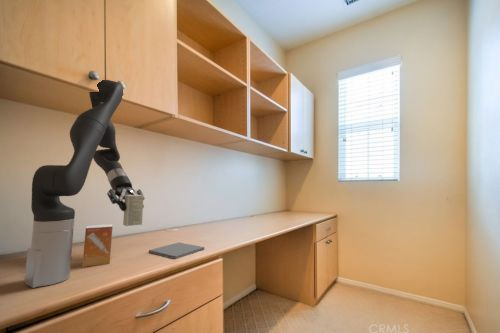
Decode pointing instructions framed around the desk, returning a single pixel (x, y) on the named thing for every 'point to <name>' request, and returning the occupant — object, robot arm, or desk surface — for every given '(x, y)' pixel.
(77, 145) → the robot arm
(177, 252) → the rubber mat
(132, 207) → the skincare box
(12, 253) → the desk surface
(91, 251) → the small box
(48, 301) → the desk surface
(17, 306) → the desk surface
